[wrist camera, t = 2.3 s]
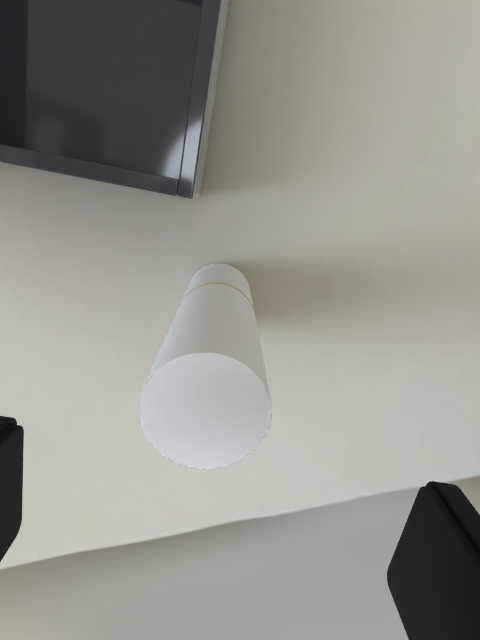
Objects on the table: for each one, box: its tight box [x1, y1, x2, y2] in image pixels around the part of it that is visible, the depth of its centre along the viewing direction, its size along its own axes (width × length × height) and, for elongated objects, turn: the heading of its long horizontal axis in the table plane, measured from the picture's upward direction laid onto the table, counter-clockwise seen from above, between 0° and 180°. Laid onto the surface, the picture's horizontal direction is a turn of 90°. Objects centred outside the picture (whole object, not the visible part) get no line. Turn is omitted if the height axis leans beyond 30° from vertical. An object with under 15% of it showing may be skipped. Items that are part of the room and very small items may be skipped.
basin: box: [0, 0, 230, 199], centre depth 20 cm, size 14×12×6 cm
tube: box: [139, 263, 272, 469], centre depth 20 cm, size 4×4×15 cm
